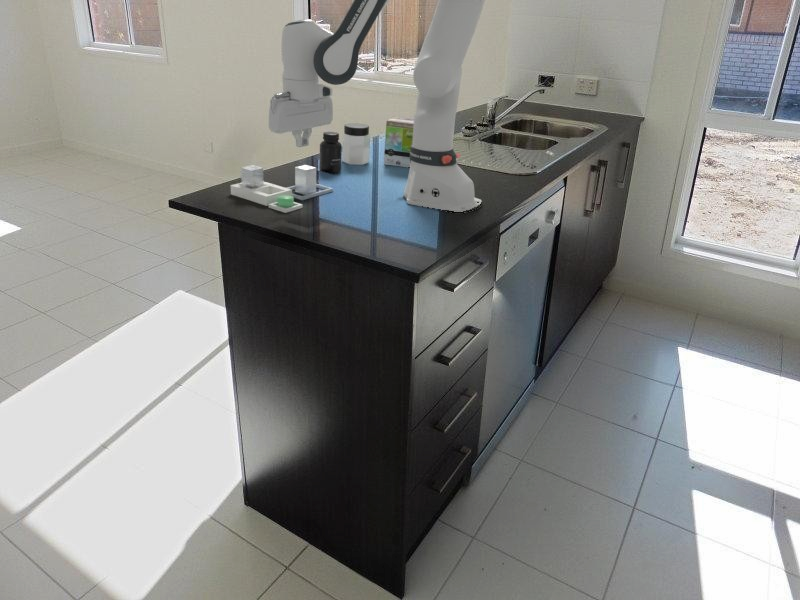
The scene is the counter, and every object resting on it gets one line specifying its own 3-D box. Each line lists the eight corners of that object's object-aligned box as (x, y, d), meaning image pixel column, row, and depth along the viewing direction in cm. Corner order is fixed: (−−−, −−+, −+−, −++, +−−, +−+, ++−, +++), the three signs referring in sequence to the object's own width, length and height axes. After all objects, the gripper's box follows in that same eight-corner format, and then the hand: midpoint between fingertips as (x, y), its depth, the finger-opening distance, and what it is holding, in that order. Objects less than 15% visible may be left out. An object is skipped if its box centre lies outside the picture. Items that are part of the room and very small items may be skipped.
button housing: (302, 212, 160) (302, 204, 159) (285, 217, 155) (285, 209, 154) (285, 206, 163) (285, 199, 162) (268, 211, 158) (268, 204, 157)
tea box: (383, 165, 208) (385, 120, 202) (390, 159, 217) (393, 115, 211) (427, 170, 205) (431, 124, 199) (433, 164, 214) (437, 119, 208)
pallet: (292, 202, 166) (291, 189, 164) (266, 210, 159) (266, 196, 158) (257, 192, 173) (256, 179, 171) (231, 198, 166) (230, 185, 165)
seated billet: (263, 193, 168) (263, 167, 165) (252, 196, 165) (251, 170, 162) (253, 190, 170) (252, 164, 167) (241, 193, 167) (240, 167, 164)
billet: (316, 192, 172) (316, 167, 169) (306, 195, 169) (305, 170, 166) (305, 189, 174) (305, 164, 171) (295, 192, 171) (294, 167, 168)
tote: (333, 195, 174) (333, 188, 173) (302, 204, 165) (302, 197, 164) (309, 188, 179) (309, 181, 178) (277, 197, 170) (277, 189, 169)
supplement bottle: (337, 175, 193) (338, 136, 188) (316, 173, 194) (316, 134, 189) (343, 170, 199) (344, 132, 194) (323, 168, 200) (323, 130, 195)
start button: (297, 209, 159) (296, 198, 158) (285, 212, 156) (285, 201, 155) (285, 205, 161) (285, 194, 160) (274, 209, 158) (274, 197, 157)
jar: (368, 159, 214) (369, 123, 209) (369, 165, 207) (371, 128, 202) (342, 158, 213) (342, 122, 208) (342, 164, 206) (343, 127, 201)
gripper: (280, 95, 147) (282, 154, 153) (336, 88, 162) (336, 142, 168) (261, 92, 150) (264, 150, 156) (318, 85, 165) (319, 138, 171)
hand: (302, 146), depth 162 cm, fingers closed
